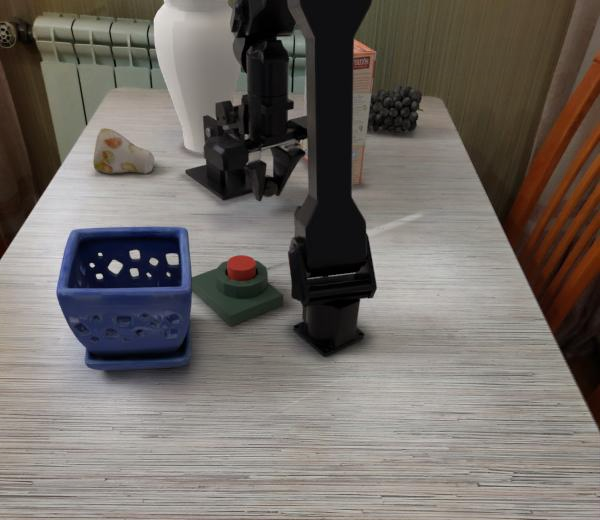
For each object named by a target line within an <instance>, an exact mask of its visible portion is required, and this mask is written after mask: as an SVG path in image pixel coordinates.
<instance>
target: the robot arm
mask: <svg viewBox="0 0 600 520" xmlns="http://www.w3.org/2000/svg"><path fill="white" fill-rule="evenodd" d="M372 4H373V0H235V1H234V3H233V5H232V15H231V20H230V28H231V33H233V35H234V36H235V38H234V42H233V53H234V55H235V58H236V59H237V61H238V62H239V64H240V65H241V69H242V70H243V71H244V73H245V74H246V94H242V95H241V99H240V102H241V103H240V104H238V105H234V104H233V103H231V101H230V100H228V101H223V102H218V103H216V107H215V114H216V119H217V123H218V125H219V126H226V125H228V128H229V131H231V130H233V129H236V128H239V133H241V134H243V135H245V136H246V135H247V138H245V140H241V141H238V140H237V139H235V138H233V137H232V136H230V135H228V134H226V135H222V136H218V137H214V138H209V139H207V141H206V142H205V144H204V153H203V158H204V159H205V161H206V160H208V161H209V162H211V163H212V164H214V165H215V166H217V167H218V168H220V169H221V170H223V171H228V172H229V171H233V170H236V169H240V168H243V169H244V171H245V173H246V175H247V177H248V180H249V183H250V185H251V188H252V190H253V192H252V193H253V196H254V198H255V200H256V201H257V202H262V201H263V197H264V196H263V192H264V184H265V176H266V174H267V167H268V164H267V163H266V162H265V161H263V160H262V155H261V154H262V151H265V150H269V149H270V152H271V155H272V177H274V178H275V179H276V181H277V183H278V190H277V192H276V194H275V195H274V196H276V197H279V196H281V193H282V192H283V190H284V188H285V186H286V184H287V182H288V180H289V179H290V176H291V175H292V174H293V172H294V170H295V169H296V167H297V165H298V164H299V162H300V160H301V159H302V158H303V156H305V154H306V152H305V151H304V150H302V148H301V141H302V140H304V139H307V145H308V162H307V186H308V189H307V191H308V192H307V196H306V197H305V199H304V201H303V203H302V205H298V206H296V208H295V211H294V213H293V223H294V236H293V237H292V238H291V240H290V245H289V247H288V248H289V250H288V251H287V258H288V266H289V274H290V275H289V276H290V281H291V292H290V293H291V294H290V295H291V299H293V300H295V301H298V302H300V304H301V306H302V314H301V315H302V316H301V317H302V318H301V319H302V320H303V321H301V322H298V323H297V324H294V325H293V326H292V330H293V332H294V333H295V334H297V335H298V336H299V337H300V338H301V339H302V340H303V341H305V342H306V343H307V344H308V345H310V346H311V347H312V348H313V349H314V350H316V351H317V353H319V354H320V355H322V356H323V357H328V356H331V355H333V354H334V353H337V352H339V351H340V350H343V349H345V348H347V347H349V346H351V345H354V344H356V343H358V342H360V341H362V340H364V339H365V335H366V334H365V332H363V331H362V330H361V329H360V328H358V321H359V320H358V319H359V312H360V304H361V300H362V299H363V300H364V299H374V297H375V294H376V291H377V289H378V285H377V280H376V273H375V266H374V261H373V255H372V249H371V244H370V239H369V235H368V233H367V221H366V219H365V217H364V215H363V214H362V212H361V210H360V208H359V207H358V205H357V204H356V202H355V200H354V198H353V191H352V190H353V189H352V188H353V185H352V135H353V67H354V39H355V37H356V35H357V33H358V31H359V29H360V27H361V25H362V23H363V21H364V19H365V18H366V15H367V14H368V12H369V10H370V8H371V7H372ZM297 27H298V29H299V30H300V32H301V35H302V36H303V38H304V41H305V42H304V43H305V44H304V45H305V47H304V48H305V74H306V96H307V116H304V115H303V116H299V117H294V118H290V119H289V111H291V110H295V101H294V100H292V99H290V98H289V87H290V86H289V81H290V51H289V50H288V49H287V48H286V47H285V46H284V44H283V41H282V39H278V38H288V37H292V35H293V34H294V32H295V30H296V28H297Z"/></svg>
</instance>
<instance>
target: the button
mask: <svg viewBox="0 0 600 520" xmlns="http://www.w3.org/2000/svg"><path fill="white" fill-rule="evenodd" d="M255 260H256V259H254V258H253V257H251V256H249V255H245V254H243V255H242V254H240V255H239V254H238V255H234V256H232V257H229V258H228V259H227V260H226V261H227V271H228V277H229V278H230V279H233V280H236V281H248V280H250V279H253V278H255V276H256V262H255Z"/></svg>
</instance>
